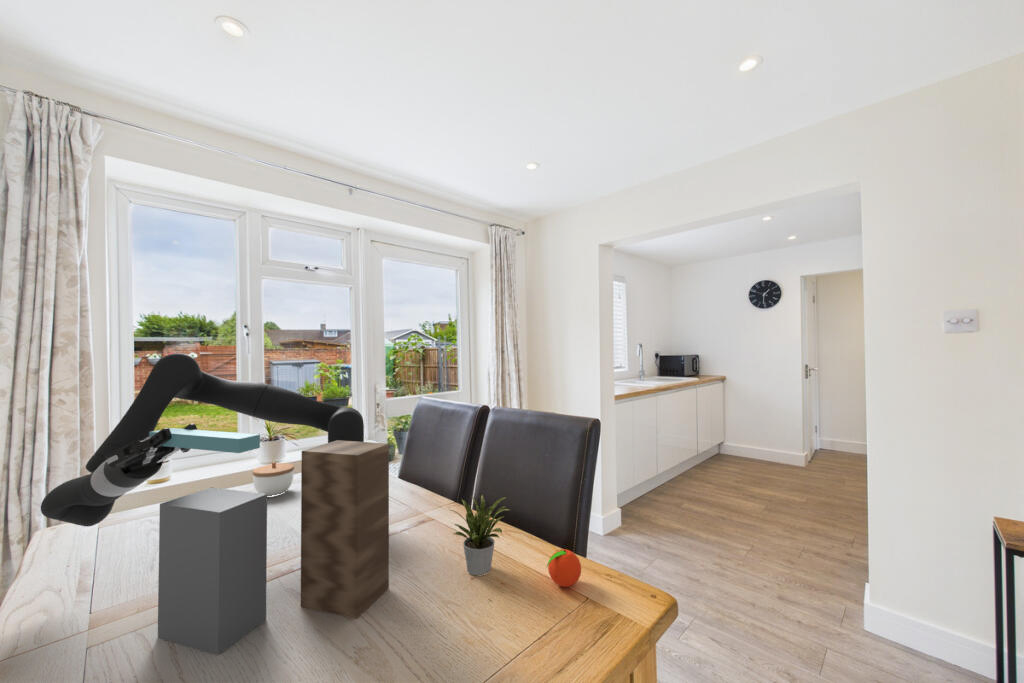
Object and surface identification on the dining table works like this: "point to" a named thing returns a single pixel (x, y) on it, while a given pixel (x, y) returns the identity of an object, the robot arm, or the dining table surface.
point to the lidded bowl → (273, 478)
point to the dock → (212, 568)
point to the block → (212, 440)
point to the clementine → (564, 568)
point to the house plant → (479, 537)
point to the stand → (344, 526)
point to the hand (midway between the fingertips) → (181, 430)
